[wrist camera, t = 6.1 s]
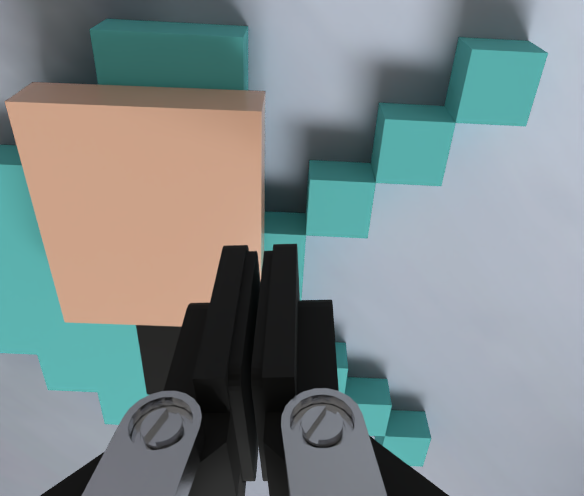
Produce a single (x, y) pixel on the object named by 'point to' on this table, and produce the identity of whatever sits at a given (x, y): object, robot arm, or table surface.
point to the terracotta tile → (140, 192)
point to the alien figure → (277, 225)
